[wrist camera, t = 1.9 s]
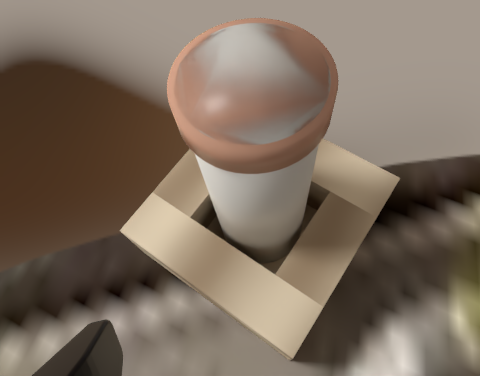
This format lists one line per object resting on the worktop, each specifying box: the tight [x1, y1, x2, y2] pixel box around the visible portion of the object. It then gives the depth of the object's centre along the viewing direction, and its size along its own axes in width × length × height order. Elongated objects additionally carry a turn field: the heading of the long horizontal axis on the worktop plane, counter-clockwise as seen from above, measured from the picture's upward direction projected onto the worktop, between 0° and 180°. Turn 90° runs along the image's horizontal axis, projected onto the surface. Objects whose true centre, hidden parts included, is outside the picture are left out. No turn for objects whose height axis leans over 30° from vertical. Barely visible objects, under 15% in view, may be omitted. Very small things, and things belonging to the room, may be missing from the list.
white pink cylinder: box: [167, 18, 338, 263], centre depth 16 cm, size 5×5×12 cm
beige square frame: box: [120, 139, 400, 360], centre depth 20 cm, size 10×10×4 cm
